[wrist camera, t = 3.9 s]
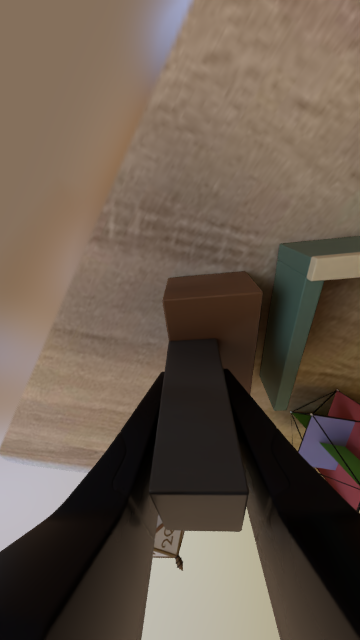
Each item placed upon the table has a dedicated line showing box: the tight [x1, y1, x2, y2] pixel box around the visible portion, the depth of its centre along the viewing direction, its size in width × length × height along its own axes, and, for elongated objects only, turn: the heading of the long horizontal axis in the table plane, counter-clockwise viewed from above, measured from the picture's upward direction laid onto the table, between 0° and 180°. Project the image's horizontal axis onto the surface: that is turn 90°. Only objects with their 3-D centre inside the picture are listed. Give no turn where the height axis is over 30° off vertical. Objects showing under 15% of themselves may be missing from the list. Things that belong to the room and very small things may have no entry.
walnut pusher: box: [149, 271, 263, 532], centre depth 9 cm, size 8×4×9 cm, turn 6°
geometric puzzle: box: [290, 389, 360, 512], centre depth 14 cm, size 7×7×8 cm
